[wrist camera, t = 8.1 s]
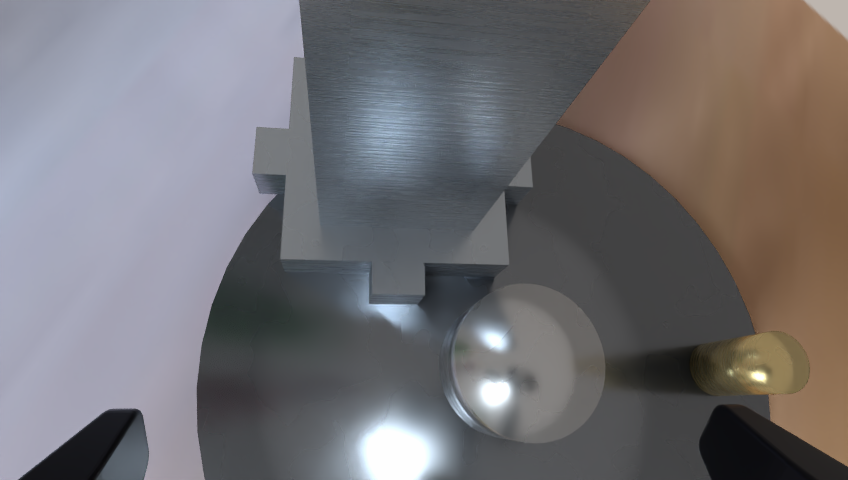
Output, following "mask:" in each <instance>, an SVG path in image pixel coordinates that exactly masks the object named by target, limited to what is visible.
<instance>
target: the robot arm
mask: <svg viewBox="0 0 848 480" xmlns="http://www.w3.org/2000/svg"><path fill="white" fill-rule="evenodd" d="M699 451H700V455H701V457H702V460H703V462H704V464H705V467H706V469H707V471H708V474H709V476H710V478H711V480H848V467H847V466H845V465H844V464H842V463H840V462H839V461H837V460H835V459H834V458H832V457H830V456H829V455H827V454H825V453H823V452H822V451H820V450H818V449H817V448H815V447H813V446H812V445H810V444H808V443H807V442H805V441H803V440H802V439H800V438H798V437H797V436H795V435H793V434H791V433H790V432H788V431H786V430H785V429H783V428H781V427H780V426H778V425H776V424H775V423H773V422H771V421H770V420H768V419H766V418H764V417H763V416H761V415H759V414H758V413H756V412H754V411H753V410H751V409H749V408H748V407H746V406H743V405H739V404H721V405H717V406H716V407H715V408H714V409H713V410H712V412H711V414H710V417H709V419H708V421H707V423H706V425H705V427H704V429H703V432H702V434H701V436H700V438H699ZM148 458H149V449H148V443H147V437H146V432H145V426H144V420H143V415H142V413H141V411H140V410H138V409H110V410H107V411H105V412H104V413H102V414H101V415H100V416H98V417H97V418H96V419H95V420H93V421H92V422H91V423H89V424H88V425H87V426H86V427H84V428H83V429H82V430H81V431H79V432H78V433H77V434H75V435H74V436H73V437H72V438H70V439H69V440H68V441H67V442H65V443H64V444H63V445H61V446H60V447H59V448H58V449H56V450H55V451H54V452H53V453H51V454H50V455H49V456H48V457H46V458H45V459H44V460H42V461H41V462H40V463H39V464H37V465H36V466H35V467H34V468H32V469H31V470H30V471H28V472H27V473H26V474H25V475H23V476H22V477H21V478H20V479H18V480H144V476H145V473H146V469H147V465H148Z"/></svg>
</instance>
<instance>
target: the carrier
mask: <svg viewBox="0 0 848 480" xmlns="http://www.w3.org/2000/svg"><path fill="white" fill-rule="evenodd" d="M530 158H531V170H532V182H533V188H532V189H531V190H530V191H529V192H528V193H527V195H526V196H525V197H524V198H523V199H522V200H521V201H520V202H519V204H518V205H512V204H505V208H506V223H507V237H508V252H509V266H507V267H506V268H505V269H504V270H503V271H501V272H500V273H499V274H498V275H497V276H495V277H477V276H431V275H425V296H424V297H423V298H422V300H421V301H420V302H419V303H418V305H400V304H369V274H340V273H294V272H285V270H284V268H283V265H282V262H281V260H280V255H281V240H282V226H283V211H284V197H285V195H284V194H277V195H276V196H275V198H274V199H273V200H272V201H271V202H270V203H269V204H268V205H267V206H266V208H265V209H264V210H263V212H262V213H261V214H260V216H259V217H258V218H257V220H256V221H255V222H254V224H253V225H252V226H251V228H250V229H249V230H248V232H247V233H246V234H245V236H244V238H243V240H242V242H241V243H240V245H239V247H238V249H237V250H236V252H235V254H234V256H233V258H232V259H231V261H230V263H229V265H228V266H227V269H226V271H225V274H224V276H223V279H222V281H221V284H220V286H219V289H218V291H217V294H216V296H215V299H214V301H213V304H212V307H211V311H210V315H209V319H208V323H207V327H206V331H205V334H204V338H203V342H202V348H201V356H200V365H199V373H198V382H197V426H198V438H199V444H200V451H201V457H202V464H203V471H204V477H205V480H711V478H710V476H709V474H708V471H707V469H706V467H705V464H704V462H703V460H702V457H701V455H700V451H699V438H700V436H701V434H702V432H703V429H704V427H705V425H706V423H707V421H708V419H709V417H710V414H711V412H712V410H713V409H714V408H715V407H716V406H717V405H721V404H739V405H743V406H746V407H748V408H749V409H751V410H753V411H754V412H756V413H758V414H759V415H761V416H763V417H764V418H766V419H768V420H770V410H769V398H768V394H791V393H796V392H798V391H800V390H801V389H802V388H803V387H804V386H805V385H806V383H807V381H808V378H809V373H810V367H809V361H808V358H807V355H806V353H805V351H804V349H803V348H802V346H801V345H800V344H799V343H798V342H797V341H796V340H795V339H794V338H793V337H791V336H790V335H788V334H786V333H783V332H779V331H771V332H765V333H760V334H755V331H754V328H753V325H752V322H751V319H750V316H749V313H748V311H747V308H746V306H745V304H744V302H743V299H742V297H741V295H740V292H739V290H738V288H737V286H736V283H735V281H734V280H733V278H732V276H731V274H730V272H729V271H728V269H727V267H726V265H725V264H724V262H723V260H722V258H721V257H720V255H719V253H718V252H717V250H716V249H715V247H714V246H713V245H712V243H711V242H710V240H709V239H708V238H707V236H706V235H705V233H704V232H703V231H702V229H701V228H700V226H699V225H698V224H697V223H696V221H695V220H694V219H693V218H692V217H691V216H690V215H689V214H688V212H687V211H686V210H685V209H684V208H683V207H682V206H681V205H680V203H679V202H678V201H677V200H676V199H675V198H674V197H673V196H672V195H671V194H670V193H668V192H667V191H666V190H665V189H664V188H663V187H662V186H661V185H660V184H659V183H658V182H656V181H655V180H654V179H653V178H652V177H651V176H650V175H648V174H647V173H645V172H644V171H643V170H641V169H640V168H639V167H637V166H636V165H635V164H633V163H632V162H631V161H629V160H628V159H626V158H625V157H623V156H622V155H620V154H618V153H617V152H615V151H613V150H611V149H610V148H608V147H606V146H605V145H603V144H601V143H599V142H598V141H596V140H593V139H591V138H589V137H587V136H584V135H582V134H580V133H578V132H575V131H573V130H571V129H569V128H566V127H563V126H559V125H556V124H555V125H554V127H553V128H552V129H551V131H550V132H549V133H548V134H547V136H546V137H545V138H544V140H543V141H542V142H541V144H540V145H539V146H538V147H537V149H536V150H535V151H534V153H533V154H532V155H531V157H530Z"/></svg>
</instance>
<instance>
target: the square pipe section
mask: <svg viewBox="0 0 848 480" xmlns="http://www.w3.org/2000/svg"><path fill="white" fill-rule="evenodd" d="M649 2H650V0H299V3H300V14H301V25H302V35H303V46H304V57H305V58H297V57H294V66H293V81H292V95H291V110H290V124H289V129H280V128H264V127H257V129H256V140H255V151H254V162H253V176H254V179H255V182H256V185H257V187H258V190H259V193H262V194H284V195H285V197H284V211H283V226H282V240H281V255H280V260H281V262H282V265H283V268H284V270H285V272H294V273H340V274H369V304H400V305H418V303H419V302H420V301H421V300H422V298H423V297H424V296H425V275H431V276H477V277H495V276H497V275H498V274H499V273H500V272H501V271H503V270H504V269H505V268H506V267H507V266H509V252H508V237H507V223H506V208H505V204H512V205H518V204H519V202H520V201H521V200H522V199H523V198H524V197H525V196H526V195H527V193H528V192H529V191H530V190H531V189H532V188H533V182H532V170H531V158H530V157H531V155H532V154H533V153H534V151H535V150H536V149H537V147H538V146H539V145H540V144H541V142H542V141H543V140H544V138H545V137H546V136H547V134H548V133H549V132H550V131H551V129H552V128H553V127H554V125H555V124H556V123H557V121H558V120H559V119H560V118H561V116H562V115H563V114H564V112H565V111H566V110H567V108H568V107H569V106H570V105H571V103H572V102H573V101H574V99H575V98H576V97H577V95H578V94H579V93H580V91H581V90H582V89H583V88H584V86H585V85H586V84H587V82H588V81H589V80H590V78H591V77H592V76H593V75H594V73H595V72H596V71H597V69H598V68H599V67H600V65H601V64H602V63H603V62H604V60H605V59H606V58H607V56H608V55H609V54H610V52H611V51H612V50H613V48H614V47H615V46H616V45H617V43H618V42H619V41H620V39H621V38H622V37H623V35H624V34H625V33H626V32H627V30H628V29H629V28H630V26H631V25H632V24H633V22H634V21H635V20H636V19H637V17H638V16H639V15H640V13H641V12H642V11H643V9H644V8H645V7H646V6H647V4H648V3H649Z"/></svg>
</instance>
